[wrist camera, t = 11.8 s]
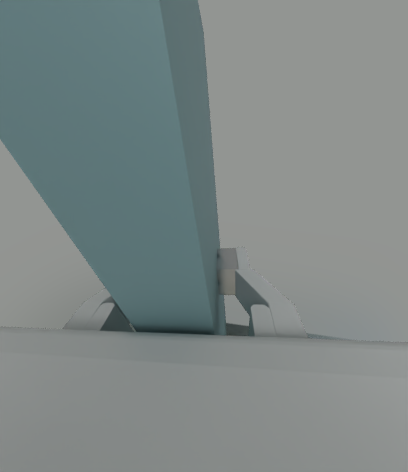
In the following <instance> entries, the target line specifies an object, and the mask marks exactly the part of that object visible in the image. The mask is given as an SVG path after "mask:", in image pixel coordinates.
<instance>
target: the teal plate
mask: <svg viewBox="0 0 408 472" xmlns="http://www.w3.org/2000/svg"><path fill="white" fill-rule="evenodd" d="M0 139H1V141H2V142H3V144H4V145H5V146H6V148H7V149H8V151H9V152H10V153H11V155H12V156H13V158H14V159H15V160H16V162H17V163H18V165H19V166H20V167H21V169H22V170H23V172H24V173H25V175H26V176H27V177H28V179H29V180H30V181H31V183H32V184H33V186H34V187H35V189H36V190H37V191H38V193H39V194H40V196H41V197H42V198H43V200H44V201H45V203H46V204H47V205H48V207H49V208H50V210H51V211H52V213H53V214H54V215H55V217H56V218H57V220H58V221H59V223H60V224H61V225H62V227H63V228H64V229H65V231H66V232H67V234H68V235H69V237H70V238H71V240H72V241H73V242H74V244H75V245H76V247H77V248H78V249H79V251H80V252H81V254H82V255H83V256H84V258H85V259H86V261H87V262H88V264H89V265H90V266H91V268H92V269H93V271H94V272H95V273H96V275H97V276H98V278H99V279H100V280H101V282H102V283H103V285H104V286H105V288H106V289H107V290H108V292H109V293H110V295H111V296H112V297H113V299H114V300H115V302H116V303H117V304H118V306H119V307H120V309H121V310H122V312H123V313H124V314H125V316H126V317H127V319H128V320H129V321H130V323H131V324H132V326H133V327H134V328H135V330H136V331H137V332H151V333H177V334H203V335H226V320H225V306H224V295H219V290H218V280H217V270H216V267H217V249H220V241H219V229H218V215H217V202H216V189H215V176H214V163H213V149H212V136H211V124H210V110H209V97H208V84H207V71H206V58H205V45H204V32H203V27H202V22H201V16H200V10H199V5H198V0H0Z"/></svg>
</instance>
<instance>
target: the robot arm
mask: <svg viewBox="0 0 408 472" xmlns="http://www.w3.org/2000/svg"><path fill="white" fill-rule="evenodd" d="M216 270H217V280H218V290H219V295H235V296H236V297H237V299H238V300H239V302H240V303H241V304H242V306H243V307H244V309H245V310H246V311H247V313H248V314H249V316H250V321H249V333H248V336H229V335H203V334H177V333H151V332H134V330H133V329H132V328H131V326H130V325H129V323H130V321H129V320H128V319H127V317H126V316H125V314H124V313H123V312H122V310H121V309H120V307H119V306H118V304H117V303H116V302H115V300H114V299H113V297H112V296H111V295H110V293H109V292H108V290H107V289H106V288H104V289H102V290H101V291H99V292H98V293H96V294H95V295H93V296H92V297H90V298H89V299H87V300H86V301H84V303H83V304H82V305H81V306H80V307H79V309H78V310H77V311H76V312H75V314H74V315H73V316H72V318H71V319H70V320H69V321H68V323H67V324H66V325H65V326H64V328H63V329H46V328H45V329H44V328H19V327H0V472H408V342H384V341H356V340H332V339H309V338H308V336H307V333H306V331H305V329H304V326H303V324H302V321H301V319H300V317H299V314H298V312H297V310H296V307H295V305H294V304H293V303H292V302H291V301H290V300H289V299H288V298H286V297H285V296H284V295H283V294H282V293H281V292H279V291H278V290H277V289H276V288H275V287H274V286H272V285H271V284H270V283H269V282H268V281H267V280H266V279H264V278H263V277H262V276H261V275H260V274H259V273H257V272H256V271H255V270H254V269H250V264H249V260H248V255H247V250H246V248H245V247H237V248H221V249H217V267H216Z"/></svg>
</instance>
